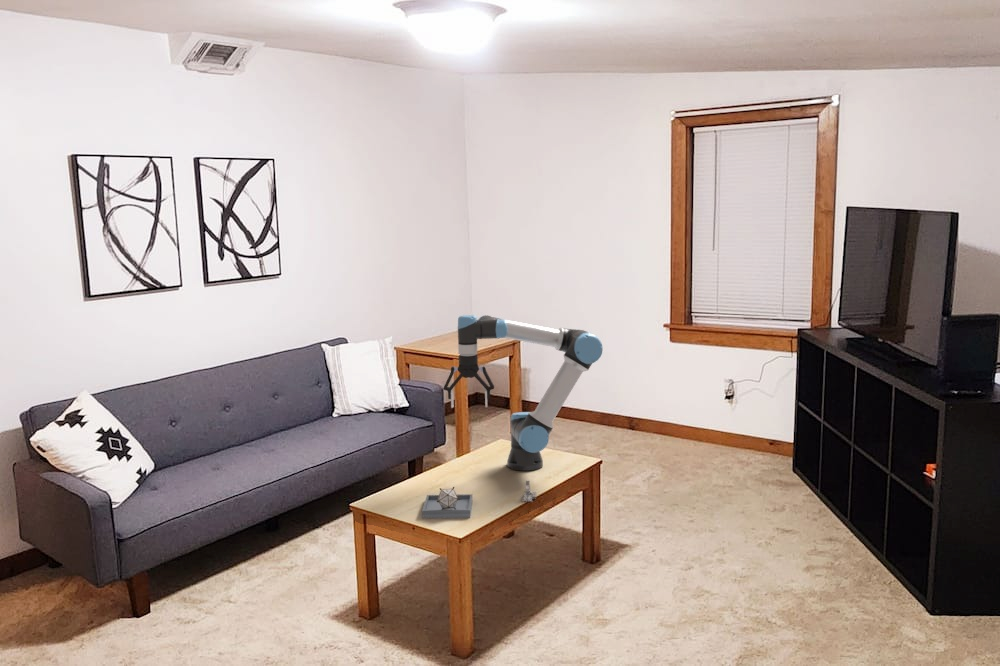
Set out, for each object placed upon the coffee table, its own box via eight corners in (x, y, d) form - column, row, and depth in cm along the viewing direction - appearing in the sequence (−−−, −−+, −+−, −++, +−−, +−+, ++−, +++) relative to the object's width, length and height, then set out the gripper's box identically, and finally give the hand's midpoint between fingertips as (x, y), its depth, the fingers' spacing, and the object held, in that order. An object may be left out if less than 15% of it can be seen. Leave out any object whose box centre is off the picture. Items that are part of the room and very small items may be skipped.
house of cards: (545, 505, 309) (544, 485, 308) (521, 505, 309) (521, 485, 308) (545, 497, 318) (545, 478, 317) (522, 497, 318) (522, 477, 317)
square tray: (472, 501, 313) (472, 494, 313) (470, 518, 296) (470, 510, 296) (427, 502, 314) (427, 495, 313) (422, 518, 296) (421, 510, 296)
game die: (454, 488, 307) (454, 478, 298) (463, 508, 303) (464, 499, 295) (431, 498, 305) (431, 488, 296) (441, 518, 301) (441, 509, 292)
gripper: (499, 352, 332) (500, 404, 335) (437, 353, 332) (439, 405, 335) (499, 355, 324) (500, 408, 327) (435, 356, 325) (437, 409, 328)
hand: (469, 406), depth 331 cm, fingers open, 13 cm apart
